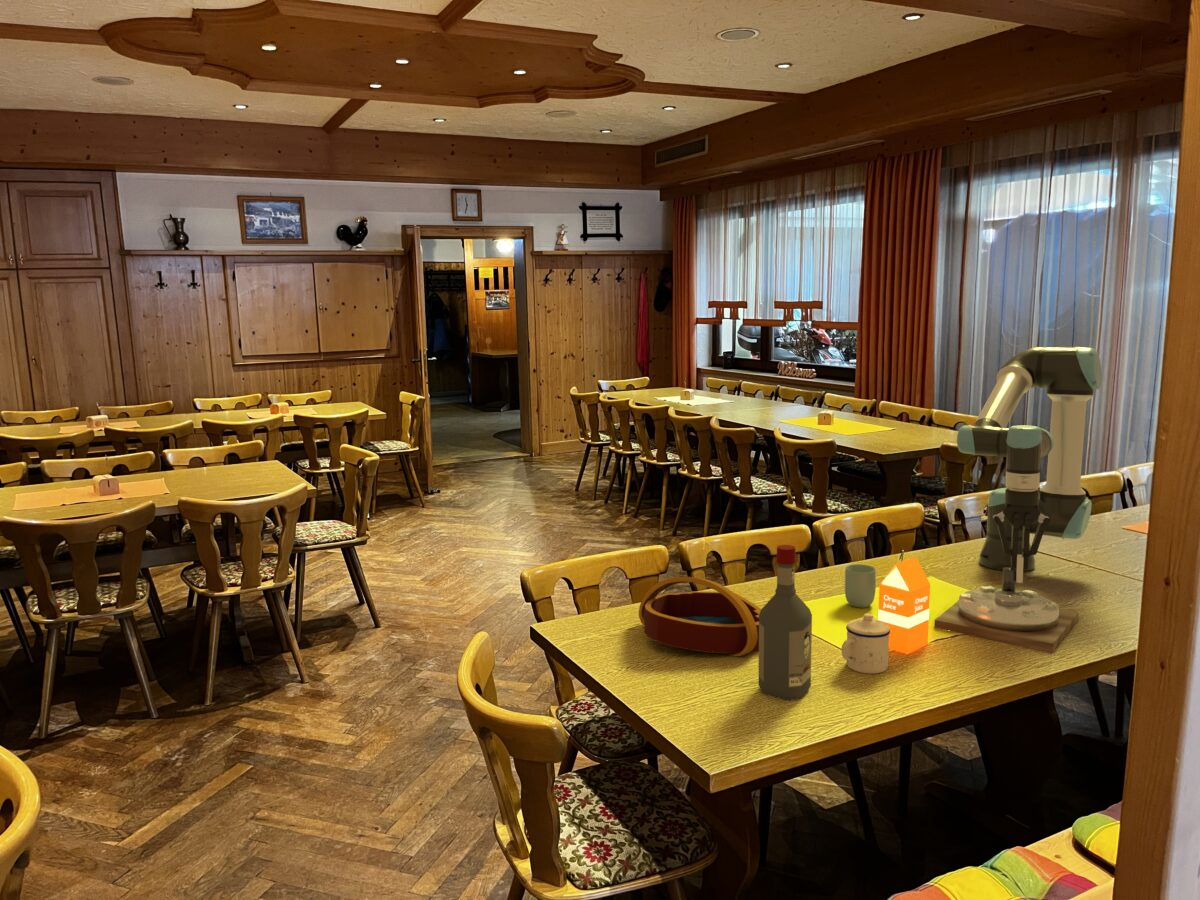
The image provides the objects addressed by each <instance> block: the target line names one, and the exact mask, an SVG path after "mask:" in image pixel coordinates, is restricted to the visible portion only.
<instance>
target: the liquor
mask: <svg viewBox="0 0 1200 900" xmlns="http://www.w3.org/2000/svg"><path fill="white" fill-rule="evenodd" d="M776 563H777V567H776V569H777V570H776V571H777V572H776V588H775V593H774V594H773V596H771V598H770V599H769V600H768V601H767V602H766V603H765V604H764V605H763V607H762V608H761V611H760V614H759V650H758V688H760V691H762V692H763V694H764V695H766V696H769V697H773V698H777V699H782V700H787V701H792V700H799V699H801V698H803V696H804V695H806V694H807V692H808V691H809V689H810V687H811V685H812V639H813V635H812V630H813V629H812V627H813V614H812V611H811V609H810V608H809V607H808V606H807V604H806V603H805V602H804V601H803V599H802V598H800V596H798V594H797V593H796V592H797V590H796V588H795V584H796V583H795V564H796V546H795V545H791V544H780V545H777V546H776Z"/></svg>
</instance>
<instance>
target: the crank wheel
mask: <svg viewBox="0 0 1200 900" xmlns="http://www.w3.org/2000/svg"><path fill="white" fill-rule="evenodd" d="M1001 585H1002V586H1001V588H996V587H993V586H992V585H987V586H980V588H978V589H972V590H968V591H965V592H961V593H960V595H959V597H958V601H959V613H960V614H961V615H962V616H963V617H965V618H967V619H969V620H971V621H973V622H976V623H978V624H982V625H985V626H989V627H994V628H999V629H1006V630H1016V631H1036V630H1044V629H1049V628H1052V627H1054V626H1056V625H1057V624H1058V621H1059V608H1060V606H1059V605H1058V603H1057V602H1055V601H1053V600H1051V599H1049V598H1047V597H1045V596H1042V595H1038V592H1037V591H1032V590H1029V589H1025V590H1016V586H1017V584H1016V569H1012V567H1004V568H1003V570H1002V584H1001Z"/></svg>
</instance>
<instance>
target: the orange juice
mask: <svg viewBox="0 0 1200 900" xmlns="http://www.w3.org/2000/svg"><path fill="white" fill-rule="evenodd" d="M878 586H879V587H878V589H879V590H878V591H879V593H878V611H877V613H878V615H877V617H878V618H877V620H878V621H881V622H884V623H885V624H887V625H888V626H889V628H890V633H889V649H890V650H893V651H896V652H899V653H903V654H906V655H909V654H911V653H913V652H916V651H917V650H919V649H922V648H923V647H925V646H927V645H929V644H928V643H929V622H930V621H929V619H930V598H931V597H930V595H931V594H930V592H931V583H930V581H929V579H928V577H927V575H926V573H925V571H924V569H923V568H922V566H921V564H920V563H919V561H918V559H917V558H916V556H914V557H911V558H908V559H905V560H903V561H900V562H898V563H897V562H896V563H895V564H894V566H893V567H892V568H891V570H890V571H889V572H888V574H887V575H886V576H885V577H884V579H883V580H882V581H881V582H880V584H878Z"/></svg>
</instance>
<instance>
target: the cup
mask: <svg viewBox="0 0 1200 900" xmlns="http://www.w3.org/2000/svg"><path fill="white" fill-rule="evenodd" d="M876 585H877V569H876V567H874V566H871V565H868V564H867V565H866V564H858V563H855V564H854V563H853V564H848V565H846V566H845V568H844V596H845V600H846V602H847V603H848V604H849V606H851V607H855V608H860V609H861V608H862V609H863V608H864V609H865V608H868V607H870V606H871V605H872V604H873V602H874V601H875V595H876V589H877V586H876Z"/></svg>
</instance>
